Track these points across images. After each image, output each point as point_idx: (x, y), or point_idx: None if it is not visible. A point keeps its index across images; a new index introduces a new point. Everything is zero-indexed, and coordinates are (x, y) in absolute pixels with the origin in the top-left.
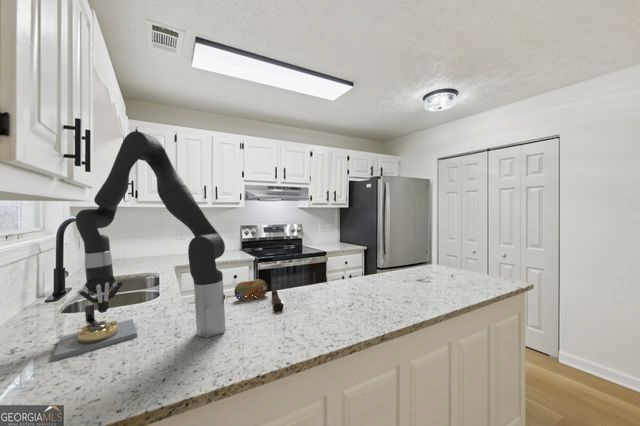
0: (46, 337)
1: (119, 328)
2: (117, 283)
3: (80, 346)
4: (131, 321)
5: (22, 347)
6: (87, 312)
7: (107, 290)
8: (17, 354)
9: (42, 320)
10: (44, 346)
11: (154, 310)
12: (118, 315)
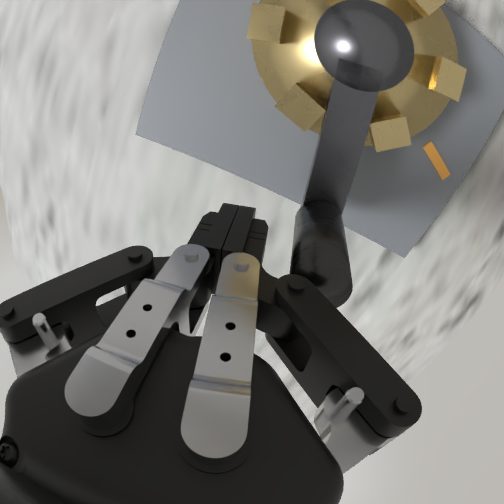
0: (378, 328)
1: (234, 52)
2: (25, 343)
3: None
4: (151, 100)
5: (444, 314)
6: (344, 244)
7: (135, 314)
8: (485, 274)
9: None
10: (439, 256)
11: (53, 196)
12: None
